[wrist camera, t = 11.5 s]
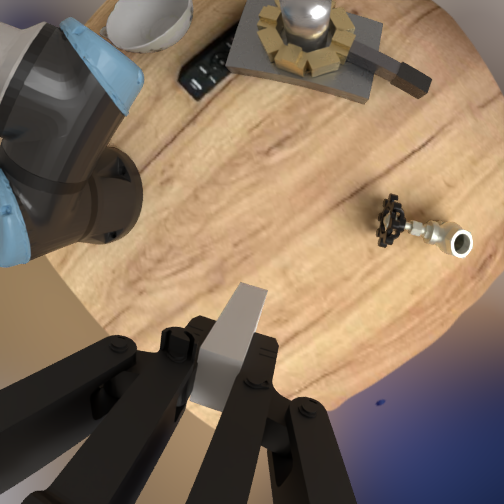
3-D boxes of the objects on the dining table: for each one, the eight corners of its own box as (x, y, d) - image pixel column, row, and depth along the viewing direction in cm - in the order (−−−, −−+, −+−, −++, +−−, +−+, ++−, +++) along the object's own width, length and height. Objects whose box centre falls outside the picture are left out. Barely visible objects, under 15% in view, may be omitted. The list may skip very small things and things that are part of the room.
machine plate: (231, 72, 35) (198, 34, 23) (252, 5, 32) (232, -47, 19) (364, 104, 33) (389, 73, 21) (378, 32, 30) (401, -15, 18)
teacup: (209, -8, 32) (191, -34, 24) (206, 57, 35) (185, 35, 27) (124, 15, 35) (98, -3, 27) (117, 76, 38) (86, 64, 30)
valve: (457, 214, 34) (383, 191, 36) (480, 221, 28) (398, 195, 30) (446, 258, 36) (372, 240, 38) (466, 273, 30) (384, 252, 31)
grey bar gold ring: (406, 128, 30) (418, 123, 26) (248, 58, 31) (241, 46, 28) (431, 60, 27) (442, 50, 23) (281, -4, 28) (278, -20, 24)
